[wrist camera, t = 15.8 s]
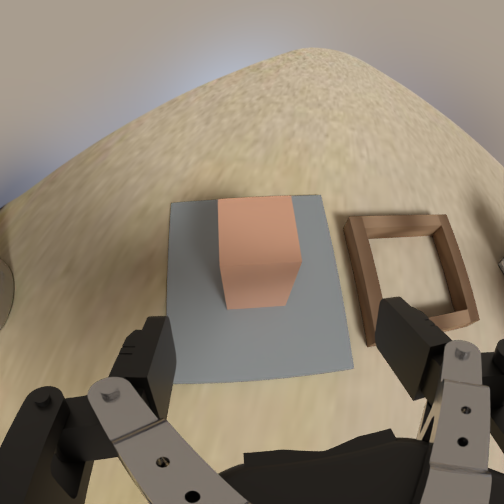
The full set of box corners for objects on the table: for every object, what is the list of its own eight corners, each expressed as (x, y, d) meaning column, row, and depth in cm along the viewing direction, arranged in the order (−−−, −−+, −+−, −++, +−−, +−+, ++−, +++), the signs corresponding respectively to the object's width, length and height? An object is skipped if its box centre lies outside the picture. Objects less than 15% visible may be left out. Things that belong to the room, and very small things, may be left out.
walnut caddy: (367, 347, 24) (376, 342, 22) (343, 228, 28) (349, 216, 27) (467, 326, 24) (479, 319, 22) (437, 225, 29) (446, 214, 27)
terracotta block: (227, 309, 24) (219, 266, 17) (224, 257, 26) (217, 198, 19) (285, 305, 25) (302, 261, 18) (279, 253, 27) (291, 195, 20)
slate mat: (168, 383, 22) (167, 383, 22) (172, 205, 29) (171, 202, 29) (352, 368, 23) (353, 368, 22) (320, 197, 30) (320, 195, 30)
